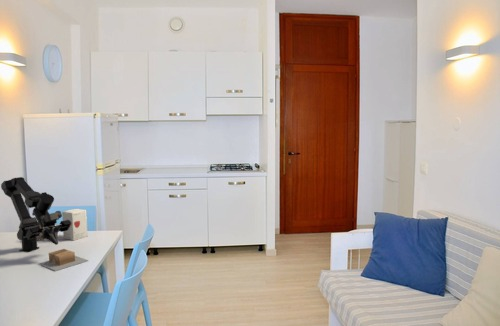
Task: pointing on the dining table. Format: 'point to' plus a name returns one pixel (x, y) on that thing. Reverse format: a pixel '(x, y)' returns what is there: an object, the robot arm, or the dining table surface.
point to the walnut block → (61, 257)
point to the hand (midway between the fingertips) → (57, 243)
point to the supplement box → (75, 224)
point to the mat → (57, 267)
